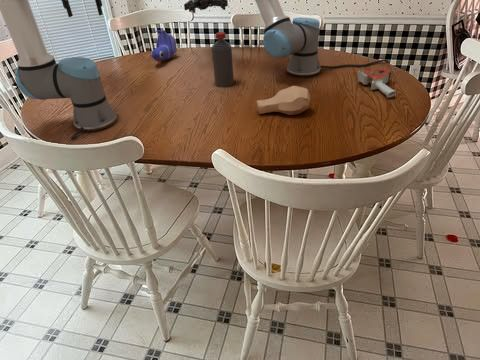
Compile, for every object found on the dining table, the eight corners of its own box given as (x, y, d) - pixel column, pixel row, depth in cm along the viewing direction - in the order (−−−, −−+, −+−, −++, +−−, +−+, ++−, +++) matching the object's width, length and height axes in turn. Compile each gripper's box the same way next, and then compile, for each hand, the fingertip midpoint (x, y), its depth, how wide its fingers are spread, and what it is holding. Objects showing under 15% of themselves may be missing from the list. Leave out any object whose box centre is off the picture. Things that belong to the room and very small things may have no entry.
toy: (165, 61, 201) (145, 67, 179) (160, 29, 194) (139, 31, 172) (181, 61, 199) (163, 66, 177) (177, 28, 192) (158, 30, 170)
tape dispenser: (391, 103, 136) (403, 82, 149) (394, 90, 133) (407, 70, 145) (346, 93, 144) (362, 74, 156) (348, 81, 140) (364, 62, 153)
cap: (217, 39, 145) (217, 34, 144) (215, 37, 148) (214, 32, 147) (226, 38, 146) (226, 33, 145) (223, 36, 149) (223, 31, 148)
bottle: (217, 88, 155) (213, 37, 142) (213, 81, 161) (208, 33, 149) (236, 84, 157) (233, 35, 144) (230, 78, 163) (227, 30, 151)
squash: (314, 116, 128) (313, 95, 122) (259, 125, 130) (256, 105, 124) (308, 99, 136) (307, 78, 129) (257, 108, 138) (253, 88, 131)
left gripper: (102, -44, 147) (116, 12, 160) (44, -40, 148) (61, 15, 160) (96, -42, 141) (111, 15, 153) (35, -38, 142) (54, 19, 154)
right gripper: (226, 5, 178) (237, 14, 161) (176, 11, 173) (182, 20, 157) (225, -11, 173) (236, -4, 157) (174, -7, 169) (180, 1, 152)
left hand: (85, 15), depth 157 cm, fingers open, 13 cm apart
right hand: (209, 8), depth 157 cm, fingers open, 13 cm apart
